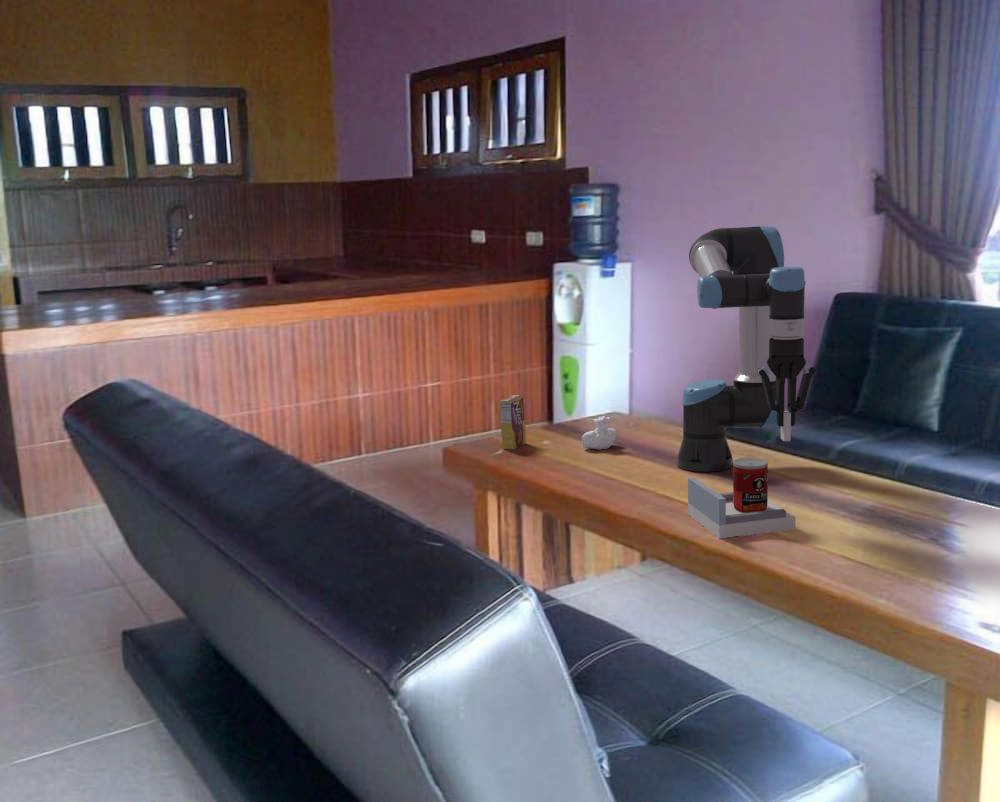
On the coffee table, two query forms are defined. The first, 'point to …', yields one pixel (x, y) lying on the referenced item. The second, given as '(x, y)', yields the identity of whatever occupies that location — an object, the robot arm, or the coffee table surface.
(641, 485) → the coffee table surface
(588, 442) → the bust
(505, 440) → the candy box
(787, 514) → the dock
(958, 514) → the coffee table surface
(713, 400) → the robot arm
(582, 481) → the coffee table surface
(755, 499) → the canned food
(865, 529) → the coffee table surface
